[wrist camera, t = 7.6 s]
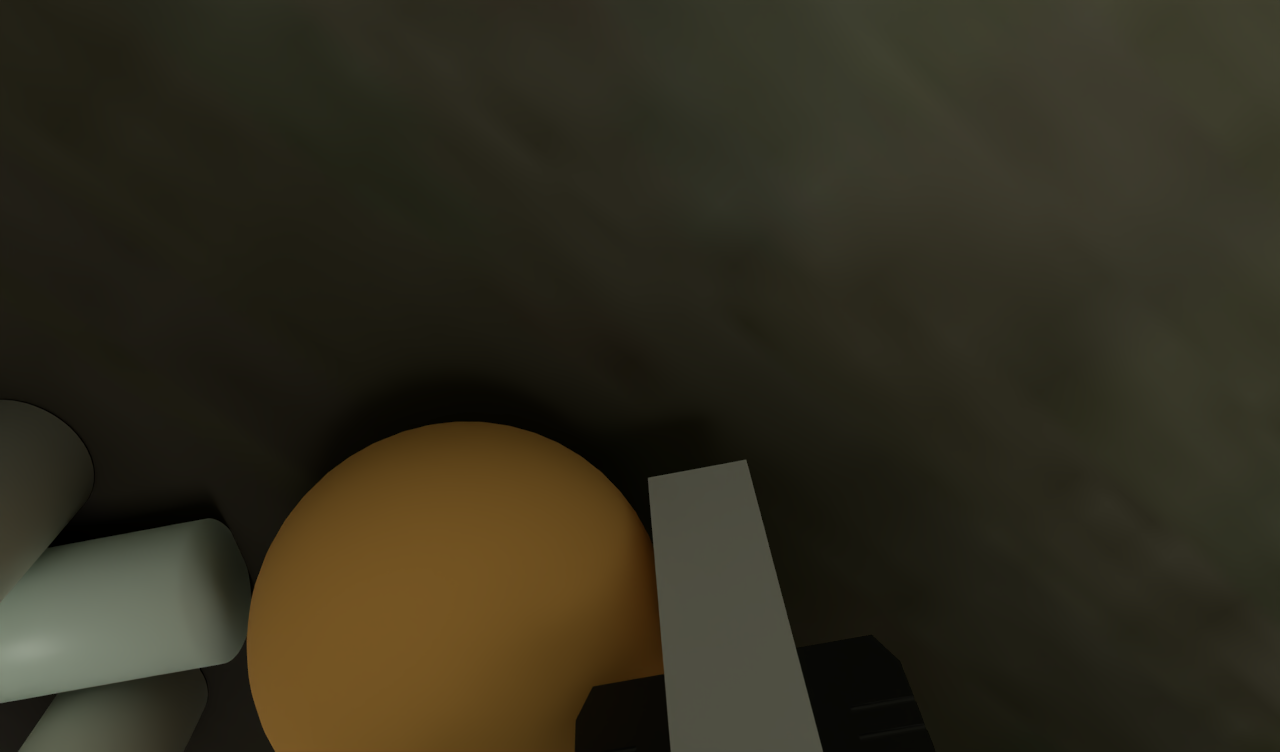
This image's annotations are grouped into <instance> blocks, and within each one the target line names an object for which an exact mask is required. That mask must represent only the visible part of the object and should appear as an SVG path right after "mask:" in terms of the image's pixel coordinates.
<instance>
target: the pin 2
mask: <svg viewBox="0 0 1280 752" xmlns="http://www.w3.org/2000/svg"><path fill="white" fill-rule="evenodd" d="M207 698H208V688H207V684H206V681H205V678H204V676H203V674H202V672H201V671H200V669H199V668H196V669H191V670H185V671H179V672H174V673H168V674H163V675H157V676H151V677H146V678H140V679H134V680H129V681H123V682H117V683H112V684H106V685H100V686H95V687H89V688H84V689H78V690H72V691H67V692H61V693H58V694H57V695H56V697H55V698H54V700H53V701H52V702H51V704H50V705H49V707H48V708H47V710H46V711H45V713H44V714H43V716H42V717H41V719H40V720H39V722H38V723H37V725H36V726H35V728H34V729H33V730H32V732H31V733H30V735H29V736H28V738H27V739H26V741H25V742H24V744H23V745H22V747H21V748H20V750H19V751H18V752H184V750H185V748H186V746H187V743H188V741H189V739H190V737H191V735H192V733H193V731H194V729H195V727H196V725H197V723H198V721H199V719H200V717H201V715H202V712H203V710H204V708H205V706H206V703H207Z"/></svg>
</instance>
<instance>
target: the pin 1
mask: <svg viewBox="0 0 1280 752" xmlns="http://www.w3.org/2000/svg"><path fill="white" fill-rule="evenodd" d="M93 483H94V469H93V464H92V461H91V457H90V455H89V453H88V450H87V449H86V447H85V445H84V444H83V442H82V441H81V439H80V438H79V437H78V436H77V434H76V433H75V432H74V431H73V430H72V429H71V428H70V427H69V426H68V425H66V424H65V423H64V422H63V421H61V420H60V419H58V418H57V417H56V416H54V415H52V414H51V413H49V412H47V411H45V410H43V409H41V408H38V407H36V406H33V405H30V404H27V403H23V402H18V401H13V400H0V602H1V601H2V600H3V599H4V598H5V597H6V595H7V594H8V593H9V592H10V591H11V590H12V588H13V587H14V586H15V585H16V584H17V583H18V581H19V580H20V579H21V578H22V577H23V575H24V574H25V573H26V572H27V571H28V570H29V568H30V567H31V566H32V565H33V564H34V563H35V561H36V560H37V559H38V558H39V557H40V556H41V554H42V553H43V552H44V551H45V550H46V548H47V547H48V546H49V545H50V544H51V543H52V541H53V540H54V539H55V538H56V537H57V536H58V534H59V533H60V532H61V531H62V530H63V529H64V527H65V526H66V525H67V524H68V523H69V521H70V520H71V519H72V518H73V517H74V516H75V514H76V513H77V512H78V511H79V510H80V509H81V507H82V506H83V505H84V504H85V503H86V501H87V499H88V498H89V496H90V494H91V491H92V488H93Z"/></svg>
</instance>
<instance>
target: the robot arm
mask: <svg viewBox="0 0 1280 752" xmlns="http://www.w3.org/2000/svg"><path fill="white" fill-rule="evenodd" d="M648 486H649V498H650V510H651V522H652V534H653V546H654V558H655V570H656V582H657V593H658V605H659V617H660V629H661V641H662V653H663V665H664V674H661V675H655V676H649V677H644V678H638V679H632V680H627V681H621V682H615V683H609V684H604V685H598V686H593V687H592V689H591V691H590V693H589V695H588V697H587V699H586V701H585V703H584V705H583V707H582V709H581V711H580V713H579V715H578V717H577V719H576V723H575V752H936V751H935V749H934V746H933V744H932V741H931V739H930V736H929V734H928V731H927V730H926V728H925V724H924V721H923V718H922V716H921V713H920V711H919V708H918V706H917V703H916V702H915V701H914V696H913V693H912V691H911V688H910V686H909V683H908V680H907V678H906V675H905V673H904V670H903V668H902V665H901V663H900V661H899V660H898V659H897V658H896V657H895V656H894V655H893V654H892V653H891V652H889V651H888V650H887V649H886V648H885V647H884V646H883V645H882V644H881V643H880V642H879V641H878V640H877V639H876V638H874V637H873V636H872V635H868V636H862V637H857V638H851V639H845V640H839V641H834V642H828V643H822V644H817V645H811V646H805V647H800V648H796V647H795V643H794V639H793V636H792V632H791V628H790V624H789V620H788V617H787V613H786V609H785V605H784V601H783V598H782V594H781V590H780V586H779V582H778V579H777V575H776V571H775V567H774V563H773V559H772V556H771V552H770V548H769V544H768V540H767V537H766V533H765V529H764V525H763V521H762V518H761V514H760V510H759V506H758V502H757V499H756V495H755V491H754V487H753V483H752V480H751V476H750V472H749V468H748V464H747V460H741V461H736V462H730V463H725V464H720V465H714V466H709V467H704V468H698V469H693V470H687V471H682V472H677V473H671V474H666V475H660V476H655V477H650V478H648Z"/></svg>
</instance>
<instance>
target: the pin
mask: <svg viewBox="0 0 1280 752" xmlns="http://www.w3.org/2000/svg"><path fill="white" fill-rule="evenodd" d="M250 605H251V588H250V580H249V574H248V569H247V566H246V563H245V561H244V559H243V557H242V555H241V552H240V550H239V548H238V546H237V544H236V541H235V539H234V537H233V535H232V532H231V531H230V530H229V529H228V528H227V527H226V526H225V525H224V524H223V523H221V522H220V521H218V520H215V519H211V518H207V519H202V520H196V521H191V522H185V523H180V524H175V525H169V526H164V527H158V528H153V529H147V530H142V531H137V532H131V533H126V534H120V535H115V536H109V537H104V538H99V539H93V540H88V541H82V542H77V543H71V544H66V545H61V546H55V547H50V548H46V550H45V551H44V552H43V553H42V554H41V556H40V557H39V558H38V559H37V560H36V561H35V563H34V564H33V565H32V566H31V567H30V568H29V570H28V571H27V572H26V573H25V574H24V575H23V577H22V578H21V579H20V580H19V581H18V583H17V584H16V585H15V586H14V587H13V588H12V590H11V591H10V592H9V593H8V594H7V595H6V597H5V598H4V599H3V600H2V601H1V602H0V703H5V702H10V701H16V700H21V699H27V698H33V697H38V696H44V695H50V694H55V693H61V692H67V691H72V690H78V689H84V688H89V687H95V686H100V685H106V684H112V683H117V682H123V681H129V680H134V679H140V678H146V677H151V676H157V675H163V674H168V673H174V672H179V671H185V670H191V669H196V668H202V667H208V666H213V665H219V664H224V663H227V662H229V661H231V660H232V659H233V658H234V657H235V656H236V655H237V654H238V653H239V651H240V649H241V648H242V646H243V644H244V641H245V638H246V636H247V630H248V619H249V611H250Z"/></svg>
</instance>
